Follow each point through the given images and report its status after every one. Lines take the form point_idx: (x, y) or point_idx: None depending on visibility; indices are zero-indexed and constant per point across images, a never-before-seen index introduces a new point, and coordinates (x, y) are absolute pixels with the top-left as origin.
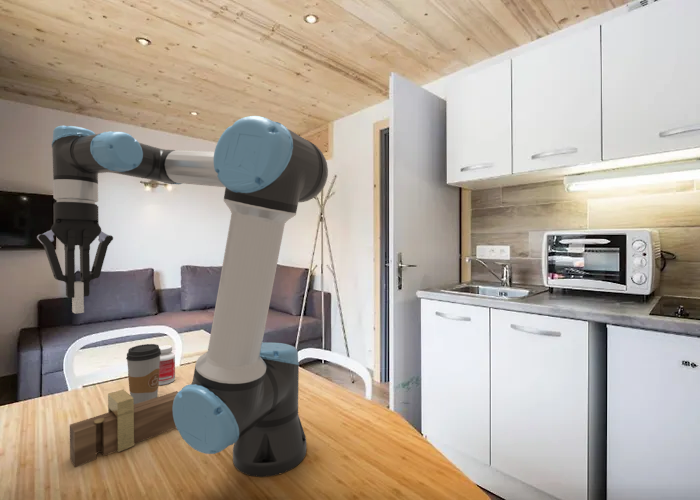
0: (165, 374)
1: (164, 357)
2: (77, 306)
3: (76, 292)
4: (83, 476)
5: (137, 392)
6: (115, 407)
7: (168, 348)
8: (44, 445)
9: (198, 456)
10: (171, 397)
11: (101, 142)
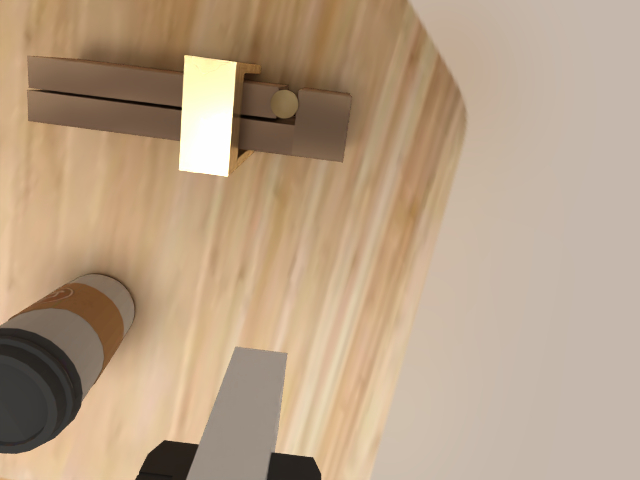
0: None
1: None
2: (266, 380)
3: (255, 461)
4: (351, 31)
5: (111, 301)
6: (238, 85)
7: None
8: (356, 266)
9: None
10: (62, 83)
11: None
